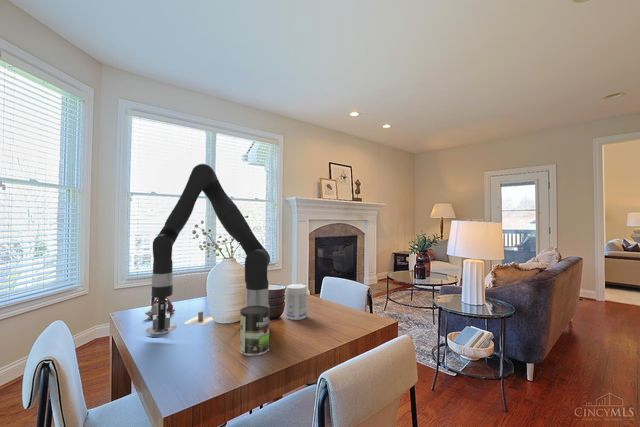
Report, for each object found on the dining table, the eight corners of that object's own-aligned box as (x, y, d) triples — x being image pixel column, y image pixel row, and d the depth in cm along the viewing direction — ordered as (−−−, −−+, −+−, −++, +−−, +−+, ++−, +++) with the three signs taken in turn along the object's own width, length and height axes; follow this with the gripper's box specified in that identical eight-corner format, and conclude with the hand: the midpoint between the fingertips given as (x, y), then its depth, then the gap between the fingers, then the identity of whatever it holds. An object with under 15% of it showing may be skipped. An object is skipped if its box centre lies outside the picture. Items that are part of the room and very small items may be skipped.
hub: (182, 328, 127) (182, 316, 127) (165, 338, 116) (165, 325, 116) (157, 326, 128) (158, 314, 128) (139, 336, 117) (139, 323, 117)
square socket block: (169, 323, 126) (169, 313, 126) (169, 327, 120) (170, 317, 120) (152, 325, 123) (153, 315, 123) (152, 330, 118) (152, 319, 118)
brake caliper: (182, 308, 146) (172, 292, 139) (169, 328, 138) (158, 312, 131) (162, 306, 149) (151, 290, 142) (148, 326, 140) (135, 310, 133)
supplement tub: (304, 313, 149) (305, 283, 149) (308, 320, 140) (308, 287, 140) (284, 314, 147) (285, 284, 147) (286, 321, 137) (287, 288, 138)
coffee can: (275, 348, 109) (276, 308, 109) (254, 359, 100) (255, 315, 101) (254, 341, 115) (255, 303, 115) (233, 351, 106) (233, 310, 106)
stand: (216, 320, 137) (217, 309, 137) (205, 328, 127) (205, 316, 127) (195, 319, 138) (196, 308, 138) (183, 327, 128) (183, 315, 128)
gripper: (173, 286, 117) (172, 330, 117) (172, 279, 130) (171, 319, 130) (151, 288, 114) (150, 333, 114) (152, 281, 127) (151, 322, 126)
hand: (161, 326), depth 122 cm, fingers closed on square socket block, 6 cm apart
